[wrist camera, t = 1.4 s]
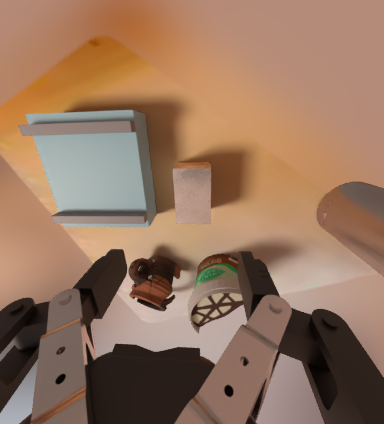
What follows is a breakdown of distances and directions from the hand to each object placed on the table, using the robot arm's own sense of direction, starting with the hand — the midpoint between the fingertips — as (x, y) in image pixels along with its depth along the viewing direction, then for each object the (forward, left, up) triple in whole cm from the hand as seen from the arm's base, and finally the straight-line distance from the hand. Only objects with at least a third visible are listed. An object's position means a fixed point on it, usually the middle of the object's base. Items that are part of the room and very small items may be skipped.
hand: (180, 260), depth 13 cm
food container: (-3, +16, -20) cm, 25 cm away
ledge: (+14, -3, -19) cm, 24 cm away
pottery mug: (+8, +18, -20) cm, 28 cm away
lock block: (0, 0, -20) cm, 20 cm away
